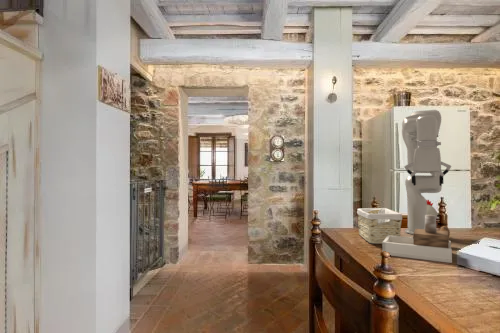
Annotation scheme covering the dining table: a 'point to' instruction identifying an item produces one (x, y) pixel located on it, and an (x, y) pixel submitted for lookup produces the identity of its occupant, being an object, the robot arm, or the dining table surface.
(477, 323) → the dining table surface
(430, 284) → the dining table surface
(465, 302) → the dining table surface
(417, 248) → the bay
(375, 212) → the storage basket
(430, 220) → the tan block with peg
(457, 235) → the dining table surface
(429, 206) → the kitchen timer
